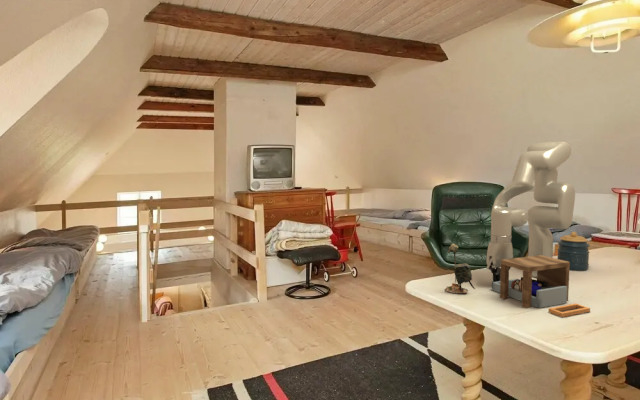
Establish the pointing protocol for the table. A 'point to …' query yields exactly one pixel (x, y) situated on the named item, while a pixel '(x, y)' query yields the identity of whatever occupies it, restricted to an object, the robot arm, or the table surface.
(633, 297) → the table surface
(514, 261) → the small wooden table
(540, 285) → the character figurine
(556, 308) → the wooden rectangular frame
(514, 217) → the robot arm
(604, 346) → the table surface
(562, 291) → the sled
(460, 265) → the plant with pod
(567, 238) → the canister
